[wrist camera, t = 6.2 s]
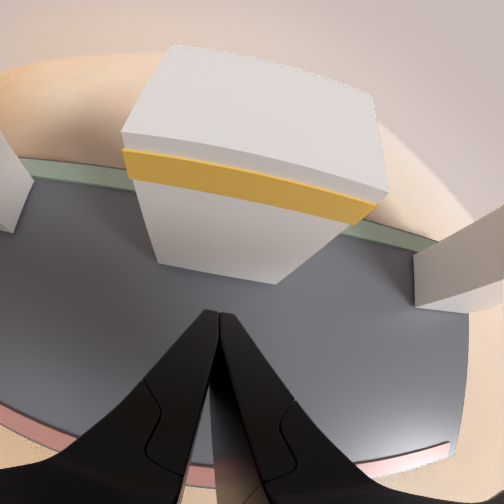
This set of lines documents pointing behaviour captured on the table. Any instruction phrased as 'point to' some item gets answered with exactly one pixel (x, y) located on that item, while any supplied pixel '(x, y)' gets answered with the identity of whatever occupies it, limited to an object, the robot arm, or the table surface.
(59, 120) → the table surface
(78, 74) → the table surface
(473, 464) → the table surface
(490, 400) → the table surface
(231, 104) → the yellow-banded white block
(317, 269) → the grey tray with blocks
